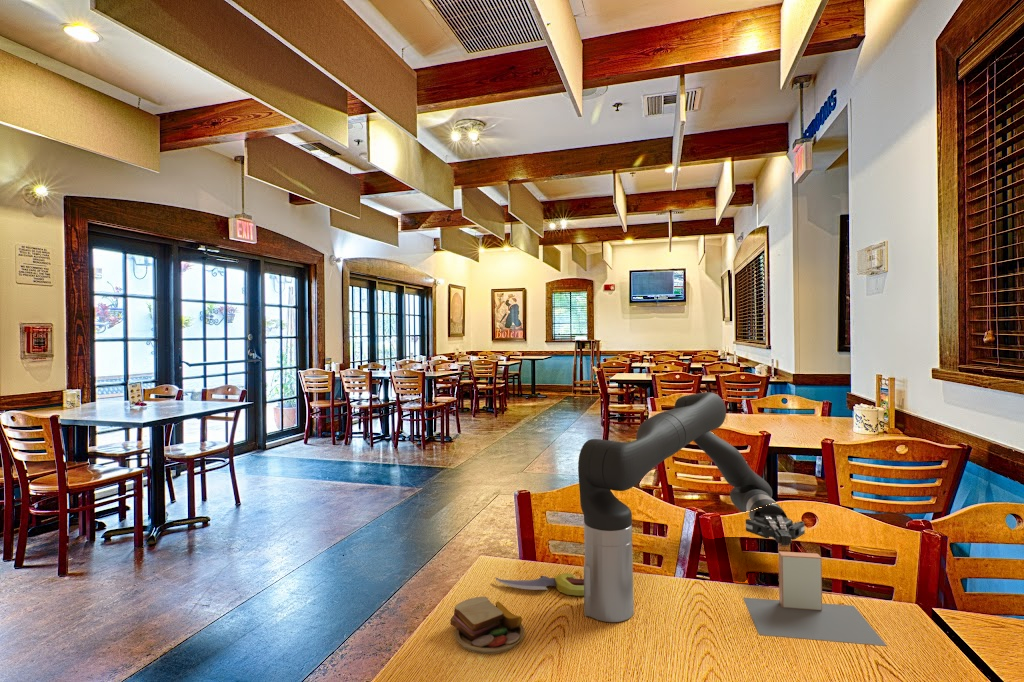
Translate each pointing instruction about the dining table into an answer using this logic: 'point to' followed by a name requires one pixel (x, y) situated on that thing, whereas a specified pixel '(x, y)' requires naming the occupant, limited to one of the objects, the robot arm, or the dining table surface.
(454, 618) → the toy sandwich meal
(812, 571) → the tile
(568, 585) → the knife
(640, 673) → the dining table surface
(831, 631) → the mat
